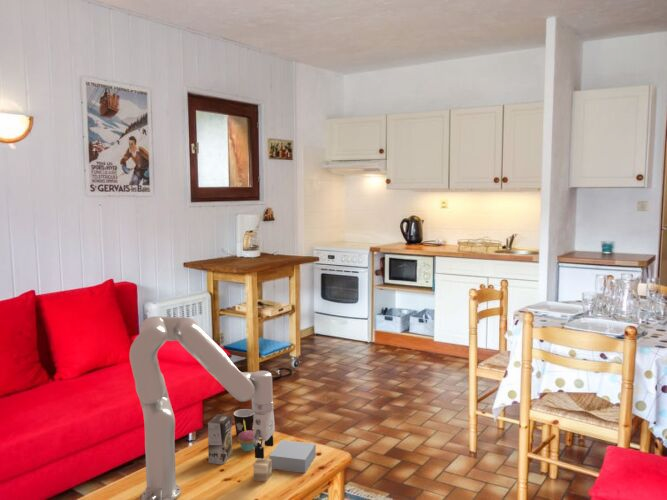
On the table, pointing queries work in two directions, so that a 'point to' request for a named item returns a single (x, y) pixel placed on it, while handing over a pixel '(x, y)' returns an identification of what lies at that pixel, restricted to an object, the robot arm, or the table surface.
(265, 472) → the birch block
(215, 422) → the coffee box
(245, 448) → the cupcake
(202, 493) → the table surface
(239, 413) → the coffee mug
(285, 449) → the grey block
